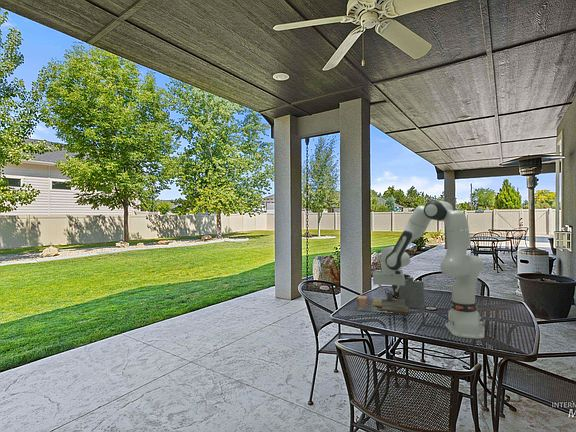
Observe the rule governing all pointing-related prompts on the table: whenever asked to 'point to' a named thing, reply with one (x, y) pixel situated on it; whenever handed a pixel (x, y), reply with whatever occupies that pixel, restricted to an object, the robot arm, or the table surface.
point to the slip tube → (379, 302)
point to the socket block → (362, 301)
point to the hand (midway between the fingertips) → (389, 291)
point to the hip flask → (412, 293)
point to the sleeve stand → (393, 306)
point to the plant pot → (397, 287)
